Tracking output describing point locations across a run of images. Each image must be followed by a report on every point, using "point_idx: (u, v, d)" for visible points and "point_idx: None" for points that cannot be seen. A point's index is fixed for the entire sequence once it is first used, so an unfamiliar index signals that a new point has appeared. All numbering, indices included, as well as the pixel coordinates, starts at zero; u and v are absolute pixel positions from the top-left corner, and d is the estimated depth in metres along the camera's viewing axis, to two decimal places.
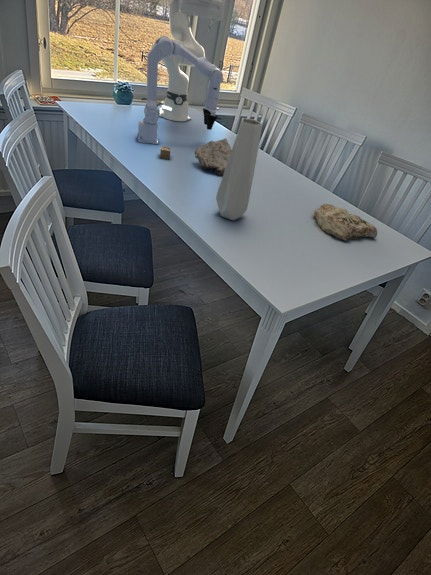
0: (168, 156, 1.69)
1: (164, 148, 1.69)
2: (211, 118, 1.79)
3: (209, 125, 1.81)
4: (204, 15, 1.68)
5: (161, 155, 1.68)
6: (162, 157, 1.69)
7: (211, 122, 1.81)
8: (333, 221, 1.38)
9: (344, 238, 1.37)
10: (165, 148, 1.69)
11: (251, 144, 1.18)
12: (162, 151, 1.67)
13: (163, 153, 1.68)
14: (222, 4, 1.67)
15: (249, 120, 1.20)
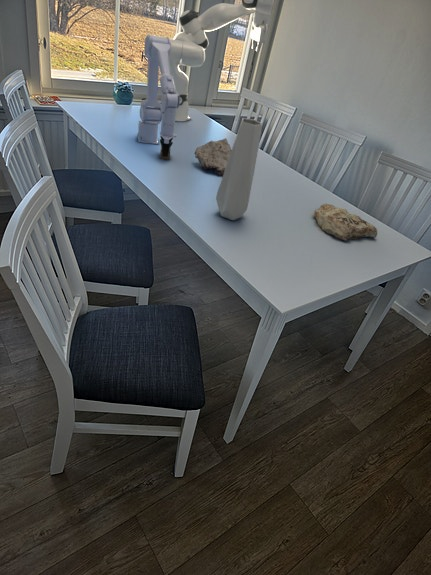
0: (168, 156, 1.69)
1: None
2: (166, 144, 1.65)
3: (164, 152, 1.67)
4: (255, 38, 2.07)
5: (161, 155, 1.68)
6: (162, 157, 1.69)
7: (166, 149, 1.66)
8: (333, 221, 1.38)
9: (344, 238, 1.37)
10: None
11: (251, 144, 1.18)
12: None
13: None
14: (261, 28, 1.98)
15: (249, 120, 1.20)
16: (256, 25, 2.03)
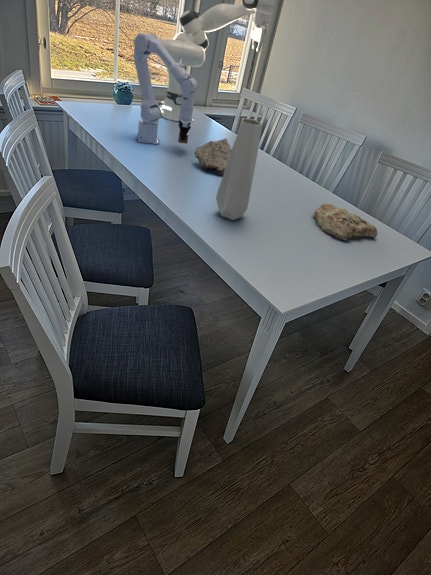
0: (186, 140, 1.76)
1: None
2: (184, 129, 1.72)
3: (182, 136, 1.74)
4: (255, 38, 2.07)
5: (179, 139, 1.75)
6: (180, 141, 1.76)
7: (185, 133, 1.73)
8: (333, 221, 1.38)
9: (344, 238, 1.37)
10: None
11: (251, 144, 1.18)
12: None
13: None
14: (262, 29, 1.98)
15: (249, 120, 1.20)
16: (257, 25, 2.03)
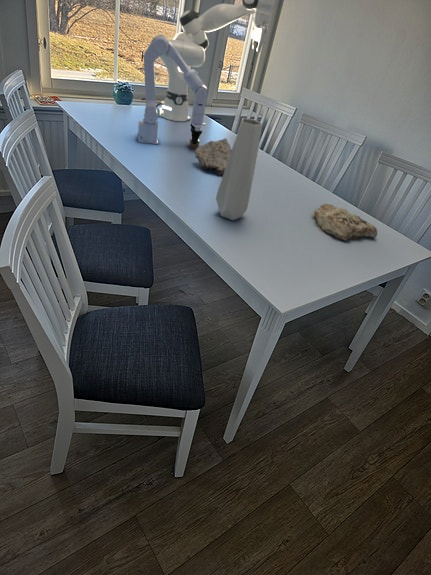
0: (197, 146, 1.87)
1: None
2: (196, 133, 1.81)
3: (194, 140, 1.83)
4: (255, 38, 2.07)
5: (191, 145, 1.86)
6: (191, 147, 1.87)
7: (196, 137, 1.82)
8: (333, 221, 1.38)
9: (344, 238, 1.37)
10: None
11: (251, 144, 1.18)
12: None
13: (192, 144, 1.86)
14: (262, 29, 1.98)
15: (249, 120, 1.20)
16: (257, 25, 2.03)
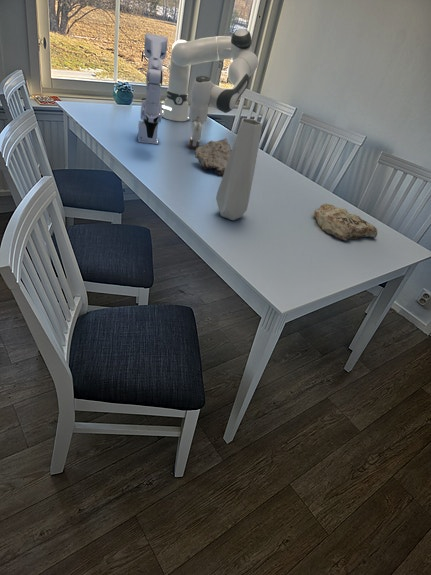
0: (197, 146, 1.87)
1: None
2: (151, 125, 1.58)
3: (149, 133, 1.60)
4: None
5: (191, 145, 1.86)
6: (191, 147, 1.87)
7: (151, 130, 1.60)
8: (333, 221, 1.38)
9: (344, 238, 1.37)
10: None
11: (251, 144, 1.18)
12: (192, 141, 1.85)
13: None
14: (194, 126, 1.74)
15: (249, 120, 1.20)
16: (191, 120, 1.79)
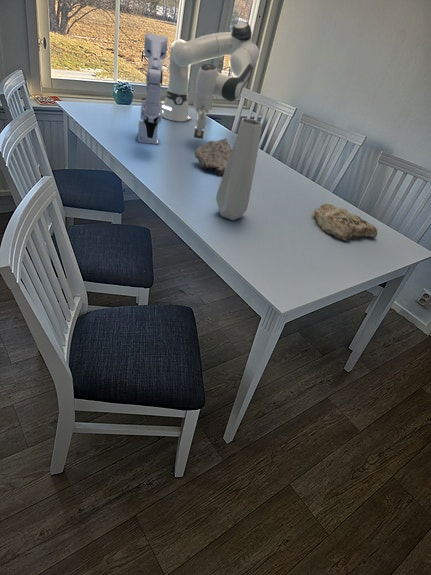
0: (201, 135, 1.86)
1: None
2: (151, 125, 1.58)
3: (149, 133, 1.60)
4: None
5: (195, 134, 1.85)
6: (196, 136, 1.86)
7: (151, 130, 1.60)
8: (333, 221, 1.38)
9: (344, 238, 1.37)
10: None
11: (251, 144, 1.18)
12: (196, 131, 1.84)
13: None
14: (198, 114, 1.74)
15: (249, 120, 1.20)
16: (196, 109, 1.79)
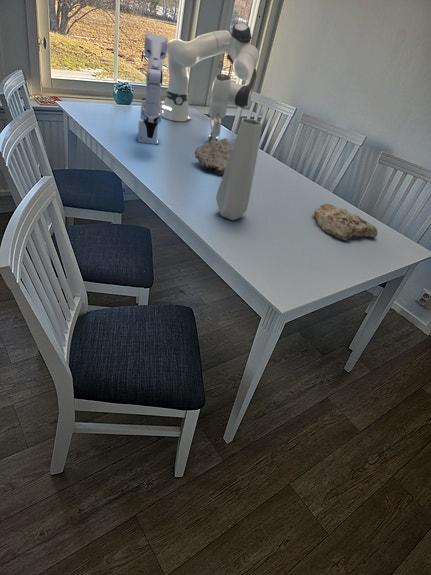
0: None
1: None
2: (151, 125, 1.58)
3: (149, 133, 1.60)
4: (211, 128, 1.92)
5: None
6: None
7: (151, 130, 1.60)
8: (333, 221, 1.38)
9: (344, 238, 1.37)
10: None
11: (251, 144, 1.18)
12: (210, 138, 1.94)
13: None
14: (214, 122, 1.83)
15: (249, 120, 1.20)
16: (211, 116, 1.88)
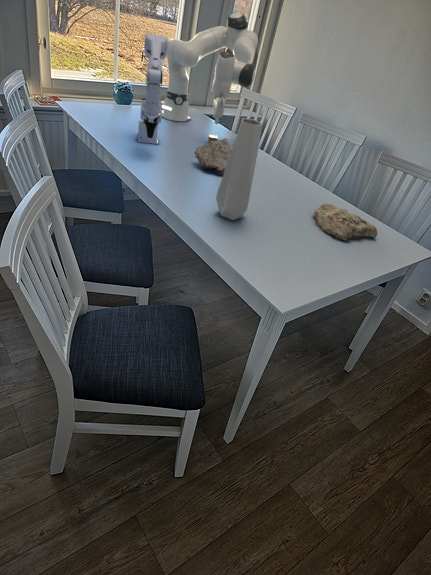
0: None
1: (212, 136, 1.95)
2: (151, 125, 1.58)
3: (149, 133, 1.60)
4: (214, 109, 1.86)
5: None
6: None
7: (151, 130, 1.60)
8: (333, 221, 1.38)
9: (344, 238, 1.37)
10: (213, 136, 1.95)
11: (251, 144, 1.18)
12: (210, 138, 1.94)
13: None
14: (217, 101, 1.77)
15: (249, 120, 1.20)
16: (214, 96, 1.82)
